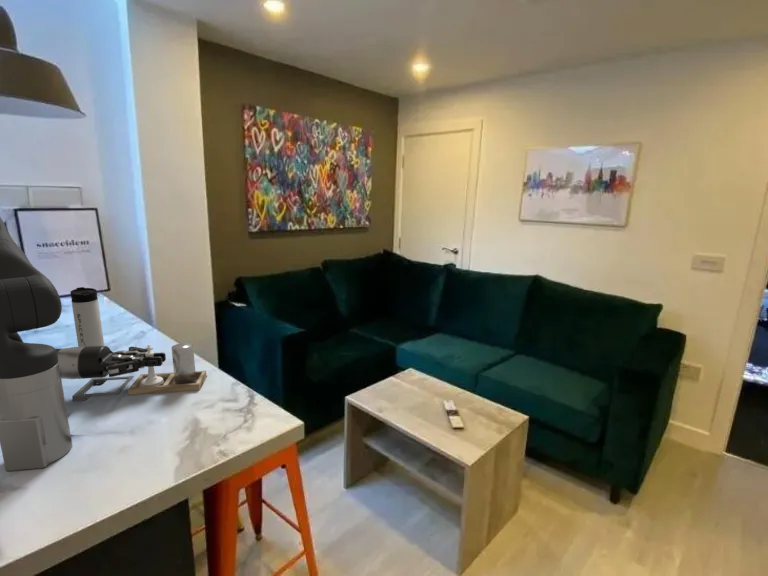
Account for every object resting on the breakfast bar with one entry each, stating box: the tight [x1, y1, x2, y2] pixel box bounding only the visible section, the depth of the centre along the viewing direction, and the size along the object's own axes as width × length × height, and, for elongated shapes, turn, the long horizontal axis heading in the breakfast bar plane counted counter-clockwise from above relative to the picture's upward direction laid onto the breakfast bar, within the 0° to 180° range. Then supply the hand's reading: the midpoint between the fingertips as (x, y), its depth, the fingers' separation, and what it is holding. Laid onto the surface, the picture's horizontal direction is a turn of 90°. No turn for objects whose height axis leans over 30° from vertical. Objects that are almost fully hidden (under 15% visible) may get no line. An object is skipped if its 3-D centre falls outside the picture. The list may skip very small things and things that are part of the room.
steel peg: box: [171, 342, 196, 384], centre depth 102 cm, size 5×5×10 cm
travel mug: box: [70, 286, 105, 347], centre depth 121 cm, size 6×7×20 cm
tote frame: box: [71, 375, 134, 402], centre depth 101 cm, size 10×10×1 cm
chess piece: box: [141, 344, 164, 387], centre depth 100 cm, size 5×5×10 cm
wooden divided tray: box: [127, 370, 208, 396], centre depth 102 cm, size 8×16×2 cm, turn 101°
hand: (163, 359), depth 101 cm, fingers closed on chess piece
